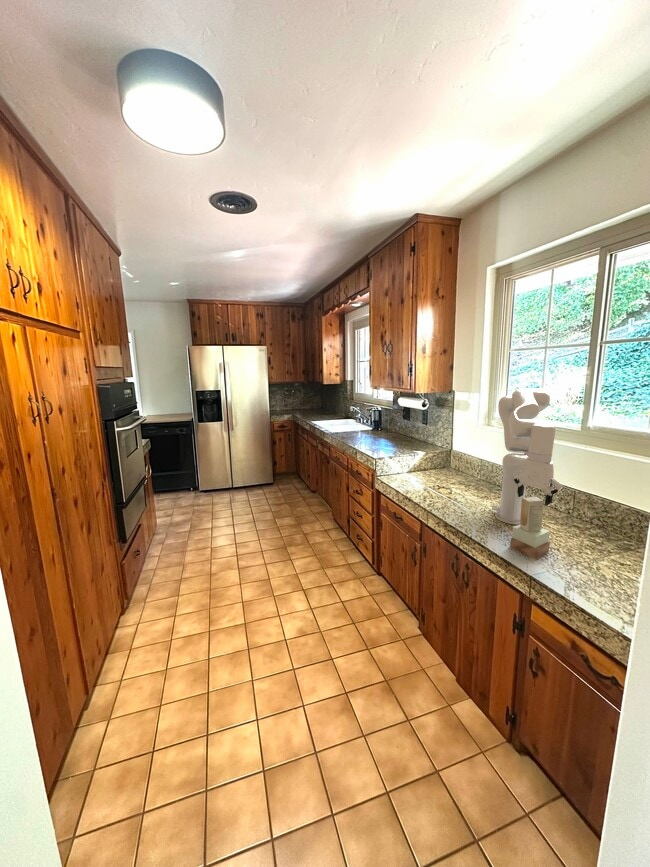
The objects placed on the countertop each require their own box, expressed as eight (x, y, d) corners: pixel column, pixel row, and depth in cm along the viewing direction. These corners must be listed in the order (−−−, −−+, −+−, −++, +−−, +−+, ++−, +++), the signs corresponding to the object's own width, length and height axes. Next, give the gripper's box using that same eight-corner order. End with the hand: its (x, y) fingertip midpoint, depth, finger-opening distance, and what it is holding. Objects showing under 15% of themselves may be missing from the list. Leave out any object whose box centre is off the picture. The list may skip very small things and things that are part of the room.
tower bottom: (509, 549, 136) (510, 538, 135) (521, 541, 142) (522, 531, 141) (536, 560, 128) (538, 549, 127) (548, 552, 134) (549, 541, 133)
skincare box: (534, 525, 136) (536, 496, 134) (542, 530, 131) (544, 500, 129) (518, 526, 135) (521, 497, 133) (526, 531, 131) (528, 501, 129)
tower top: (512, 537, 136) (513, 527, 135) (525, 532, 140) (526, 521, 139) (535, 547, 128) (536, 536, 127) (548, 541, 133) (549, 531, 132)
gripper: (510, 453, 132) (505, 495, 136) (561, 464, 118) (554, 510, 122) (520, 450, 136) (515, 491, 140) (570, 460, 123) (563, 505, 126)
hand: (533, 500), depth 131 cm, fingers open, 9 cm apart
